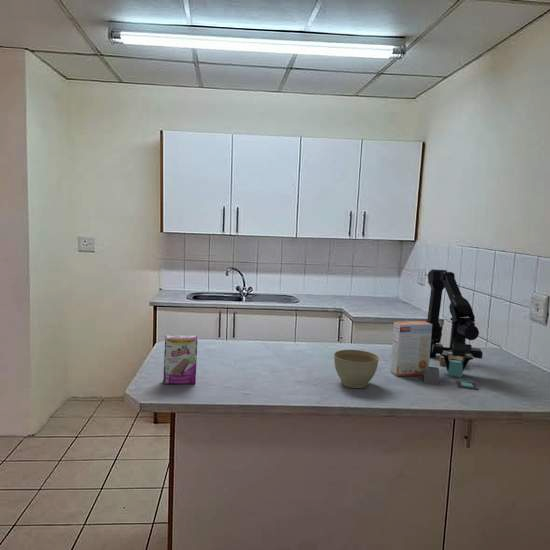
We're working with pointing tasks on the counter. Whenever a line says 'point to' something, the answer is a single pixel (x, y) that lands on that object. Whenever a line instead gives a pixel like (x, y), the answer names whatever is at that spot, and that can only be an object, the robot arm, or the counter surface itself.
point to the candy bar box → (180, 359)
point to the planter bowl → (355, 367)
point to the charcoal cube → (431, 375)
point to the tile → (466, 385)
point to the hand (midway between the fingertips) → (454, 371)
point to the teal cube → (455, 368)
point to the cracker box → (410, 348)
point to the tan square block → (451, 357)
